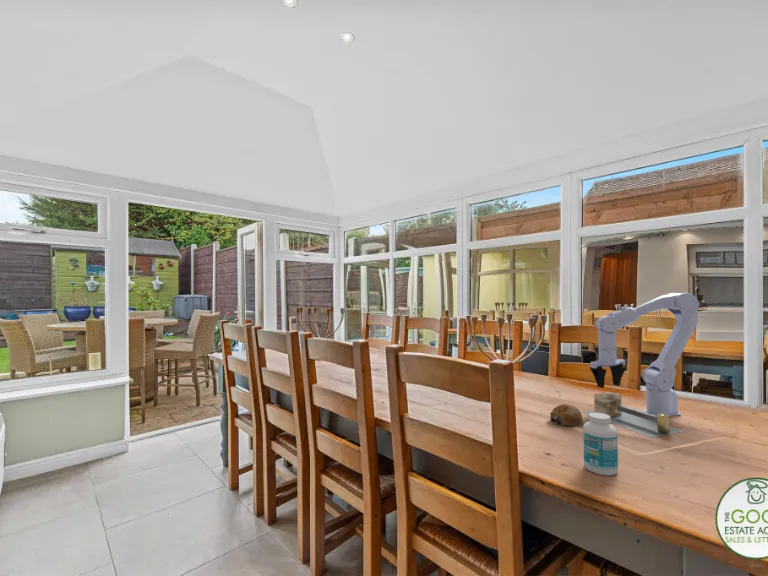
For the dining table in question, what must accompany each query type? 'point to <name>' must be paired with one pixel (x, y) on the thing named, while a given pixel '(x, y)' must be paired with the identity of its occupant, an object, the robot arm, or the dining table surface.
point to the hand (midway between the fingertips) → (608, 386)
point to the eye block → (607, 403)
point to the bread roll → (566, 415)
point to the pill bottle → (600, 445)
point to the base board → (638, 424)
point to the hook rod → (649, 417)
